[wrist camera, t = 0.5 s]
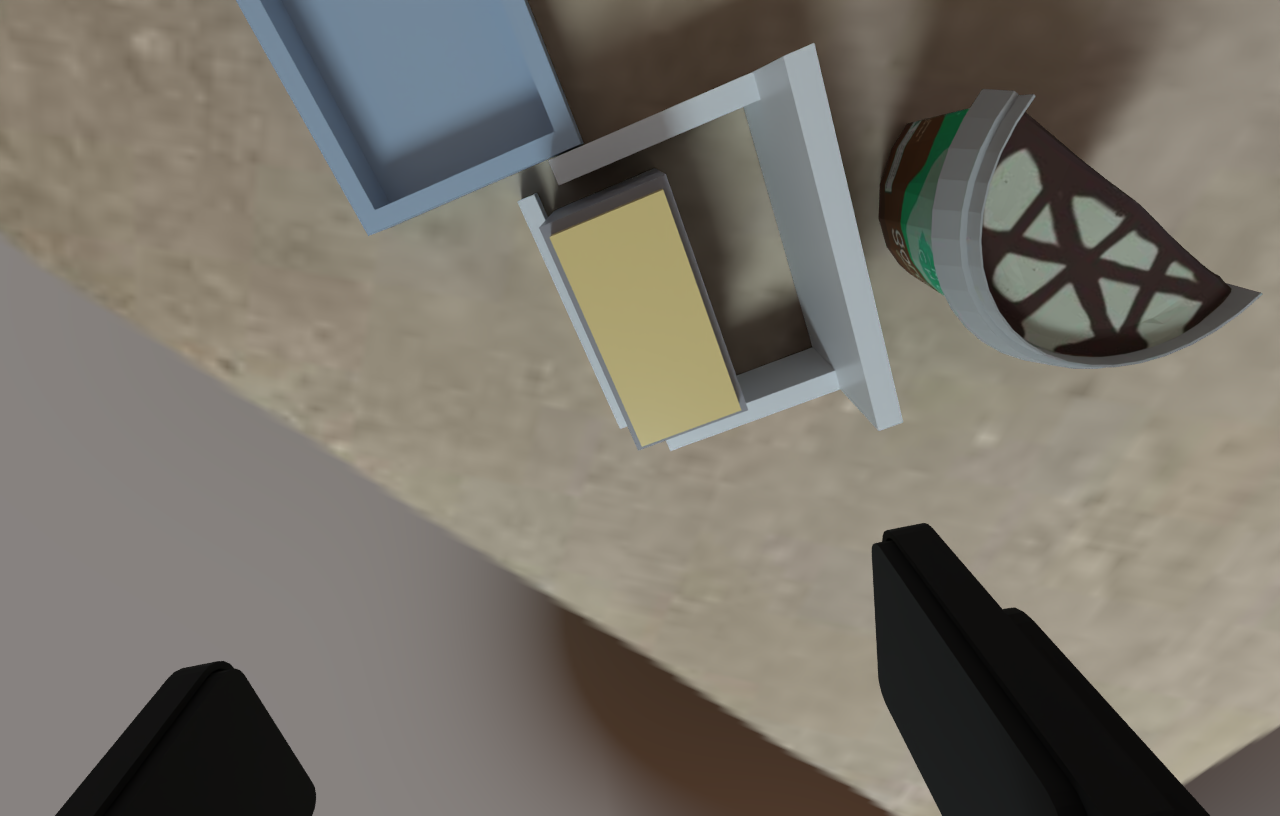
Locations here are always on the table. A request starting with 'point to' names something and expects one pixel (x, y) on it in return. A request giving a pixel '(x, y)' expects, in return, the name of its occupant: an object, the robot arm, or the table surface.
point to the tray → (417, 95)
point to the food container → (1041, 244)
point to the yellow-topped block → (645, 308)
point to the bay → (809, 228)
